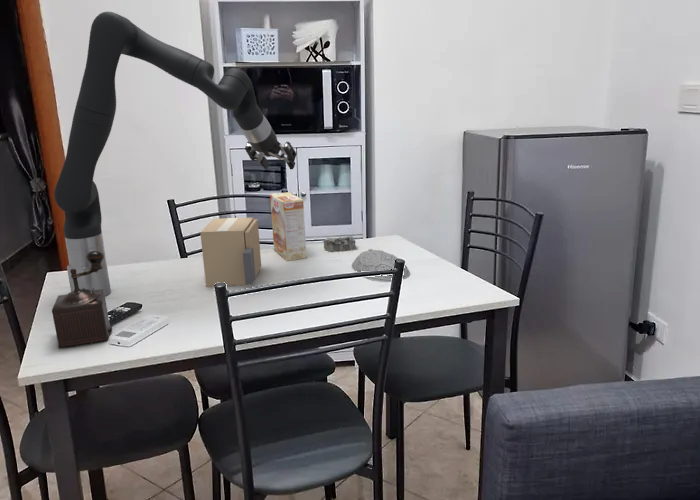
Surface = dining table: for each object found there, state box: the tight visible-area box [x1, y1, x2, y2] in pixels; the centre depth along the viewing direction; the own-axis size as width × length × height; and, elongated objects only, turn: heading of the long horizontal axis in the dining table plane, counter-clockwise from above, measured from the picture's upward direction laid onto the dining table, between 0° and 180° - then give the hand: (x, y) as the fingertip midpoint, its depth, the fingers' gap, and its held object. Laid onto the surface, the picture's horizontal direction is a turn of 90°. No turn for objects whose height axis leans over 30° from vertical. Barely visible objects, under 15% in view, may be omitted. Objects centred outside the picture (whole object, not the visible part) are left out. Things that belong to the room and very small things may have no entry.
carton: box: [199, 217, 254, 288], centre depth 172 cm, size 16×12×16 cm
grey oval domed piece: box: [351, 248, 411, 283], centre depth 176 cm, size 16×25×7 cm, turn 26°
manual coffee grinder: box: [51, 251, 113, 349], centre depth 136 cm, size 16×11×18 cm
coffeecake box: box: [269, 191, 307, 262], centre depth 193 cm, size 15×7×20 cm, turn 23°
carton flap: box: [243, 218, 262, 286], centre depth 169 cm, size 21×2×15 cm, turn 179°
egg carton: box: [322, 235, 357, 253], centre depth 199 cm, size 11×8×4 cm
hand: (279, 166), depth 176 cm, fingers open, 8 cm apart
